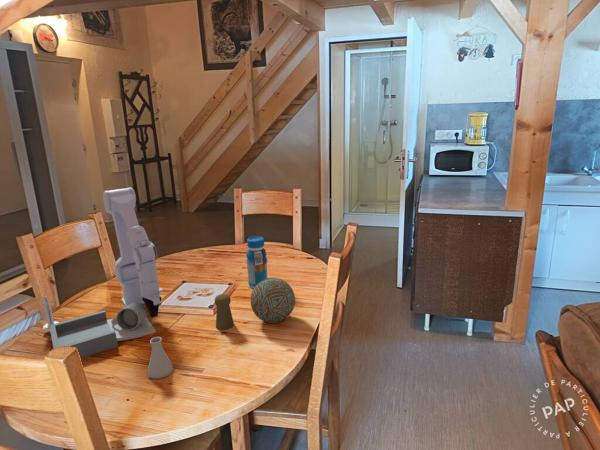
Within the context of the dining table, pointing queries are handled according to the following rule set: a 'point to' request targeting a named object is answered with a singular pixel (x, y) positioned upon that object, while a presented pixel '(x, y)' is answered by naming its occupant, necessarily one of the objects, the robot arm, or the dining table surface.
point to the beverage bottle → (256, 261)
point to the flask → (158, 360)
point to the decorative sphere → (272, 300)
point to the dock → (94, 333)
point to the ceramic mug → (130, 316)
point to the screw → (48, 314)
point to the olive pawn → (223, 312)
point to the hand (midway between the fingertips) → (154, 316)
